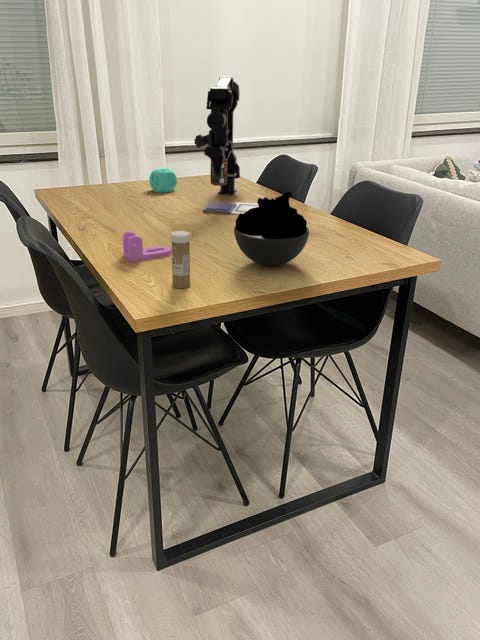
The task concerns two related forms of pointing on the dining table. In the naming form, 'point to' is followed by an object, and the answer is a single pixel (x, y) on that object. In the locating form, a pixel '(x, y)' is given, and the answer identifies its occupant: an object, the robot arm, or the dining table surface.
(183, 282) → the sprinkles bottle
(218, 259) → the dining table surface
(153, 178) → the decorative dice
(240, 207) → the form board
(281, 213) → the coal bowl
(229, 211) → the ink pad
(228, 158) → the robot arm
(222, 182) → the supplement bottle
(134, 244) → the bracket
